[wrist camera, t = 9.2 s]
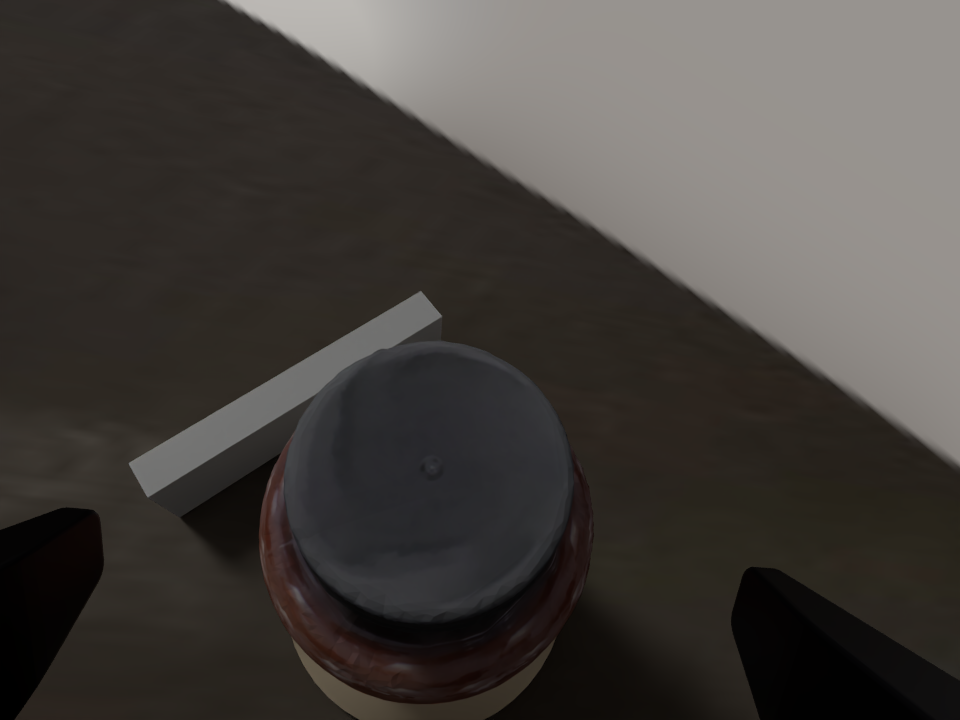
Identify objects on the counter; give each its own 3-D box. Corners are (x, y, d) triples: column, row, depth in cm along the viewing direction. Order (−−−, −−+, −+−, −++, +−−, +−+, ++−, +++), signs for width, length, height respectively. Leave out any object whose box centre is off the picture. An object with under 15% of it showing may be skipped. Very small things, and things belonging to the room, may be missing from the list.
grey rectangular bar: (420, 328, 23) (420, 291, 20) (439, 351, 22) (442, 316, 20) (161, 487, 19) (128, 463, 17) (179, 517, 19) (147, 497, 17)
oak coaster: (599, 686, 18) (603, 686, 17) (306, 773, 16) (302, 776, 16) (521, 422, 21) (523, 416, 21) (274, 473, 20) (271, 468, 19)
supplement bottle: (562, 628, 18) (741, 581, 8) (371, 734, 16) (289, 847, 6) (473, 450, 20) (523, 236, 10) (297, 529, 19) (148, 368, 8)
